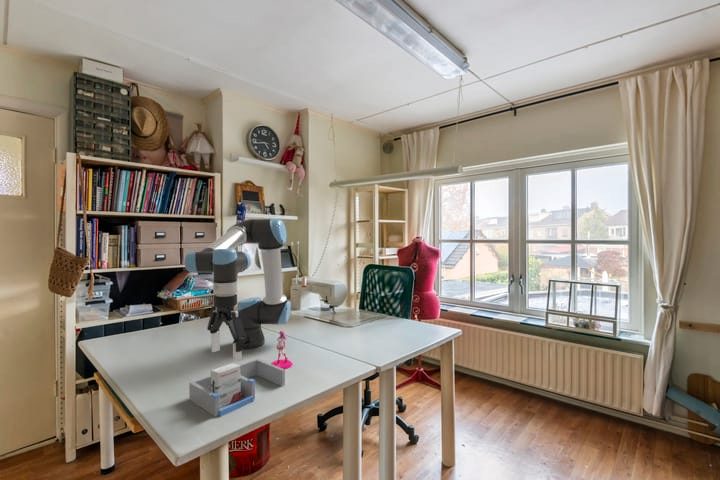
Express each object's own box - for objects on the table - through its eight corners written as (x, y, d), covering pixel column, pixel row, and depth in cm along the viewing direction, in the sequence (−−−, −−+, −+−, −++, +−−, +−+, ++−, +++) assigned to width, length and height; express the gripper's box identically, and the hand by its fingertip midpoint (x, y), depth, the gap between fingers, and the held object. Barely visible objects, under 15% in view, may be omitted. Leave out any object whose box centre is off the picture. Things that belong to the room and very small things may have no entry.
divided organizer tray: (189, 399, 117) (189, 380, 117) (257, 373, 139) (257, 357, 139) (216, 418, 106) (216, 397, 106) (286, 385, 128) (286, 368, 128)
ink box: (233, 394, 121) (233, 361, 121) (241, 399, 118) (241, 365, 118) (210, 404, 115) (210, 369, 114) (218, 409, 111) (217, 373, 111)
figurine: (268, 362, 150) (268, 329, 149) (290, 359, 154) (290, 326, 153) (271, 371, 141) (271, 335, 140) (294, 367, 145) (294, 332, 144)
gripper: (196, 291, 120) (197, 350, 121) (236, 301, 104) (236, 369, 105) (216, 288, 126) (217, 344, 127) (256, 297, 110) (257, 361, 111)
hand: (226, 355), depth 116 cm, fingers open, 13 cm apart
